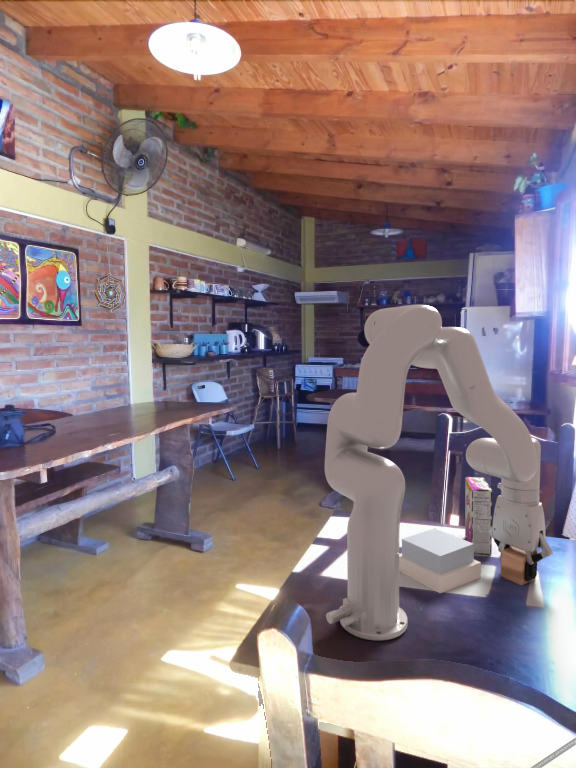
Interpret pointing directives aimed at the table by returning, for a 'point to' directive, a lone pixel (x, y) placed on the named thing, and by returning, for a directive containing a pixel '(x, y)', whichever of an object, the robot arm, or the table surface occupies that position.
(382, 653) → the table surface
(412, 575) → the tower base
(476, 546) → the candy bar box
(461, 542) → the tower top
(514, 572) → the terracotta block
